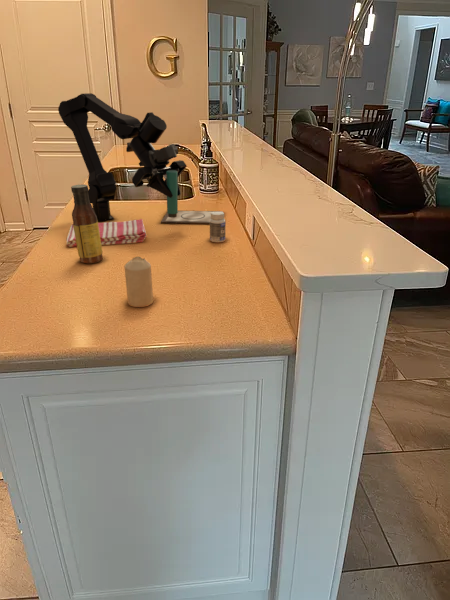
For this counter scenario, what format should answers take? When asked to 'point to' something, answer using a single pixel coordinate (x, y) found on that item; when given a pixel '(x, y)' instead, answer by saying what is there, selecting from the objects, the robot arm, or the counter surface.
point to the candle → (139, 282)
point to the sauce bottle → (85, 226)
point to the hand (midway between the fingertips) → (175, 195)
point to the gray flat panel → (189, 217)
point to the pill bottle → (217, 227)
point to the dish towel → (115, 233)
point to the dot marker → (173, 186)
